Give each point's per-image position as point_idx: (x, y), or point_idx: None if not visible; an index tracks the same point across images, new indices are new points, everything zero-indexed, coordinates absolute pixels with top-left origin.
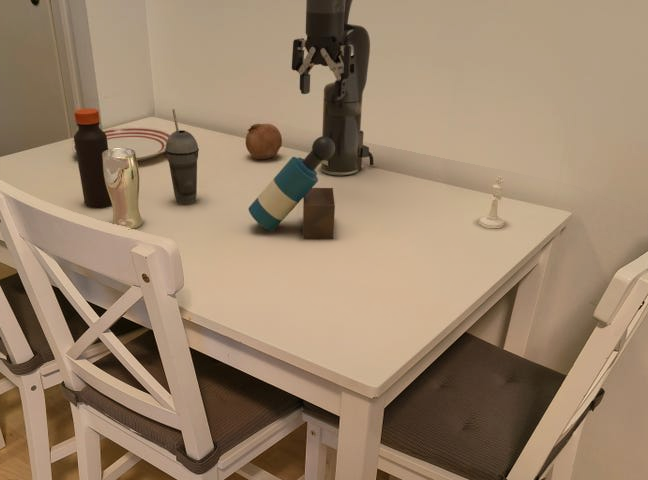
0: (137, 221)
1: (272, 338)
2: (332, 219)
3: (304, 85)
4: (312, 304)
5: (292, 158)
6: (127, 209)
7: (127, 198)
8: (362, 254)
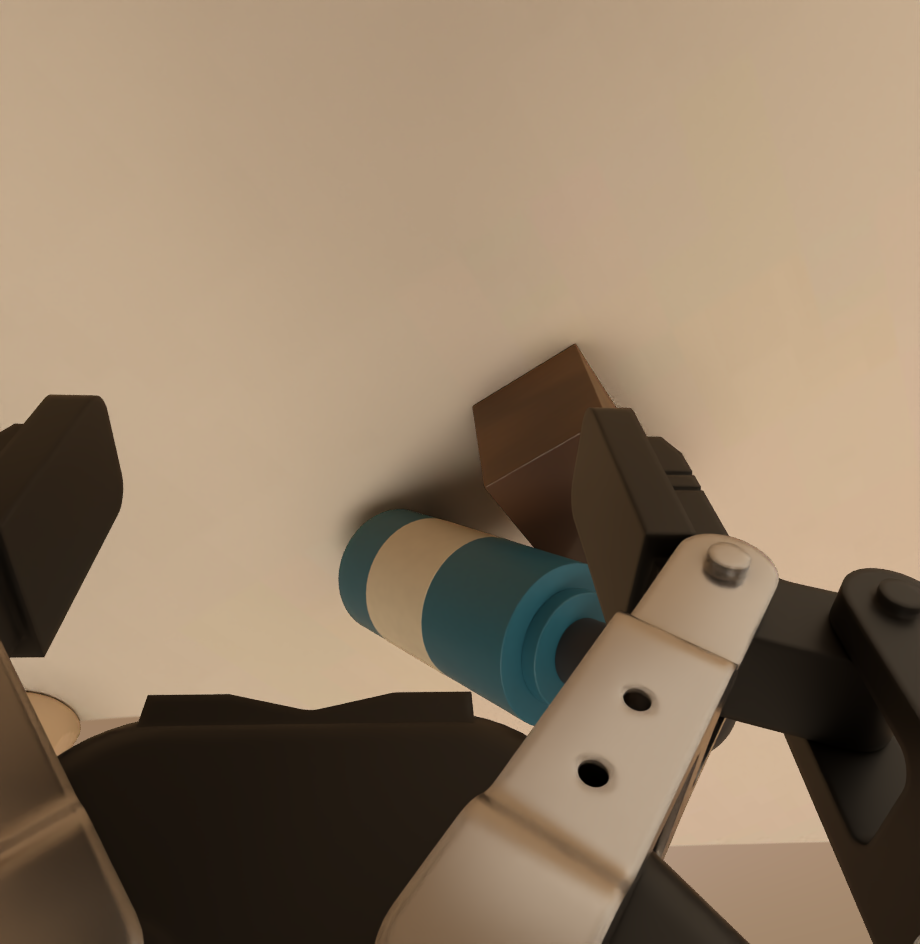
0: (70, 733)
1: (733, 837)
2: None
3: (90, 552)
4: (758, 746)
5: (522, 716)
6: None
7: None
8: (794, 515)
